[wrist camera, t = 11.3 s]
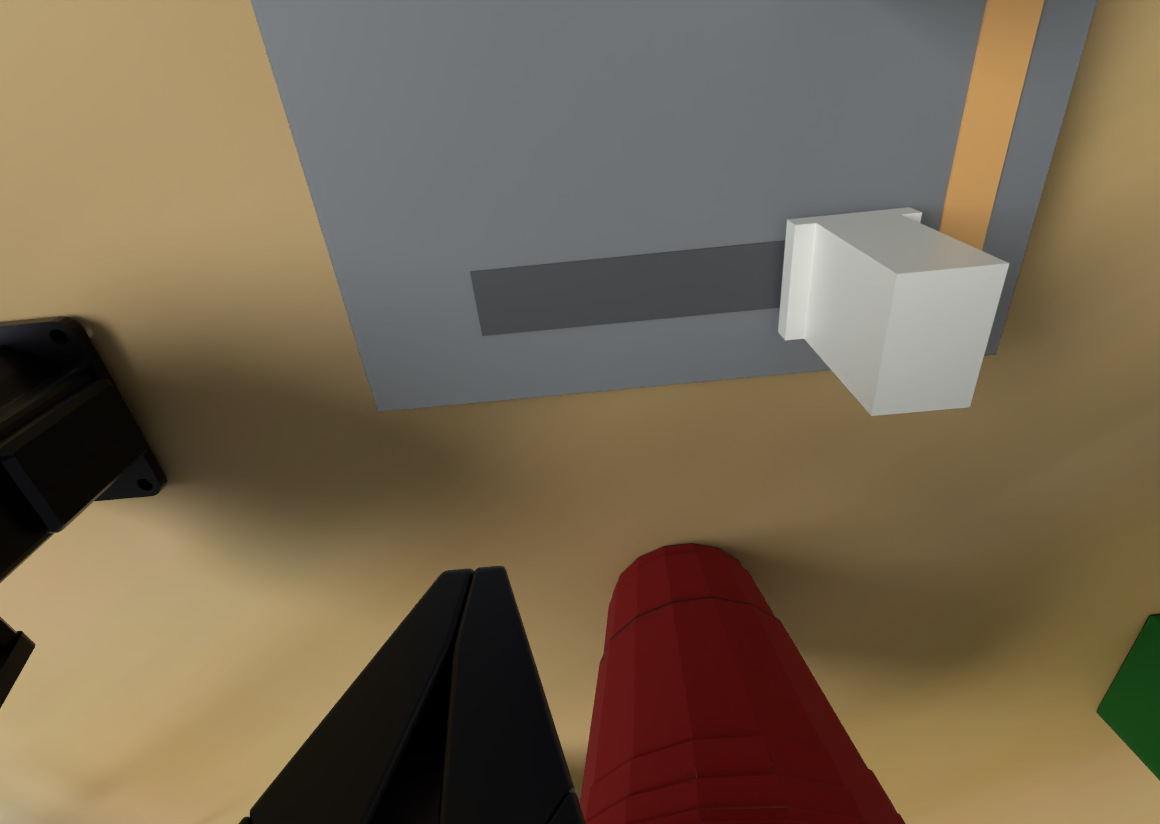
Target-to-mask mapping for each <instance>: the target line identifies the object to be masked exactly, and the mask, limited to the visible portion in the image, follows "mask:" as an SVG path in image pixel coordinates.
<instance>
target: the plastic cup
mask: <svg viewBox="0 0 1160 824" xmlns="http://www.w3.org/2000/svg"><path fill="white" fill-rule="evenodd" d="M580 807H581V810H582V813H583V816H584V819H585V823H586V824H905V822H904V820H903V819H902V817H901V816H900V814H898V813H897V812H896V810H895V808H894V806H893V804H892V803H891V801H890V799H889V798H888V796H887V794H886V793H885V791H884V789H883V788H882V786H881V785H880V783H879V781H878V780H877V778H876V776H875V775H874V773H873V772H872V770H870V769H868V768H867V766H866V764H865V763H864V761H863V759H862V758H861V756H860V754H859V753H858V751H857V749H856V747H855V746H854V744H853V742H852V741H851V739H850V737H849V736H848V734H847V732H846V731H845V729H844V727H843V725H842V724H841V722H840V720H839V719H838V717H837V715H836V714H835V712H834V710H833V709H832V707H831V705H830V703H829V702H828V700H827V698H826V697H825V695H824V693H823V692H822V690H821V688H820V687H819V685H818V683H817V681H816V680H815V678H814V676H813V675H812V673H811V671H810V670H809V668H808V666H807V665H806V663H805V661H804V659H803V658H802V656H801V654H800V653H799V651H798V649H797V648H796V646H795V644H794V643H793V641H792V639H791V638H790V636H789V634H788V633H787V631H786V630H785V628H784V626H783V625H782V623H781V621H780V620H779V619H778V618H776V617H775V616H774V614H773V612H772V611H771V609H770V607H769V606H768V604H767V602H766V601H765V599H764V597H763V596H762V594H761V592H760V591H759V589H758V587H757V586H756V584H755V582H754V581H753V579H752V578H751V576H750V574H749V573H748V571H747V570H746V569H744V568H743V567H742V566H741V564H740V563H739V561H738V560H737V559H735V558H733V557H732V556H730V555H728V554H727V553H725V552H723V551H722V550H720V549H718V548H713V547H708V546H703V545H697V544H692V543H691V544H683V545H675V546H666V547H662V548H659V549H657V550H655V551H653V552H650V553H648V554H646V555H644V556H641V557H639V558H637V559H636V560H635V561H634V562H633V563H632V564H631V565H630V566H629V567H628V568H627V569H626V570H625V571H624V572H623V573H621V574H620V577H619V579H618V582H617V584H616V587H615V589H614V592H613V597H612V599H611V602H610V604H609V610H608V619H607V628H606V637H605V646H604V655H603V657H602V659H601V662H600V665H599V672H598V679H597V686H596V693H595V700H594V707H593V714H592V721H591V728H590V735H589V742H588V749H587V756H586V763H585V770H584V777H583V784H582V791H581V798H580Z"/></svg>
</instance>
